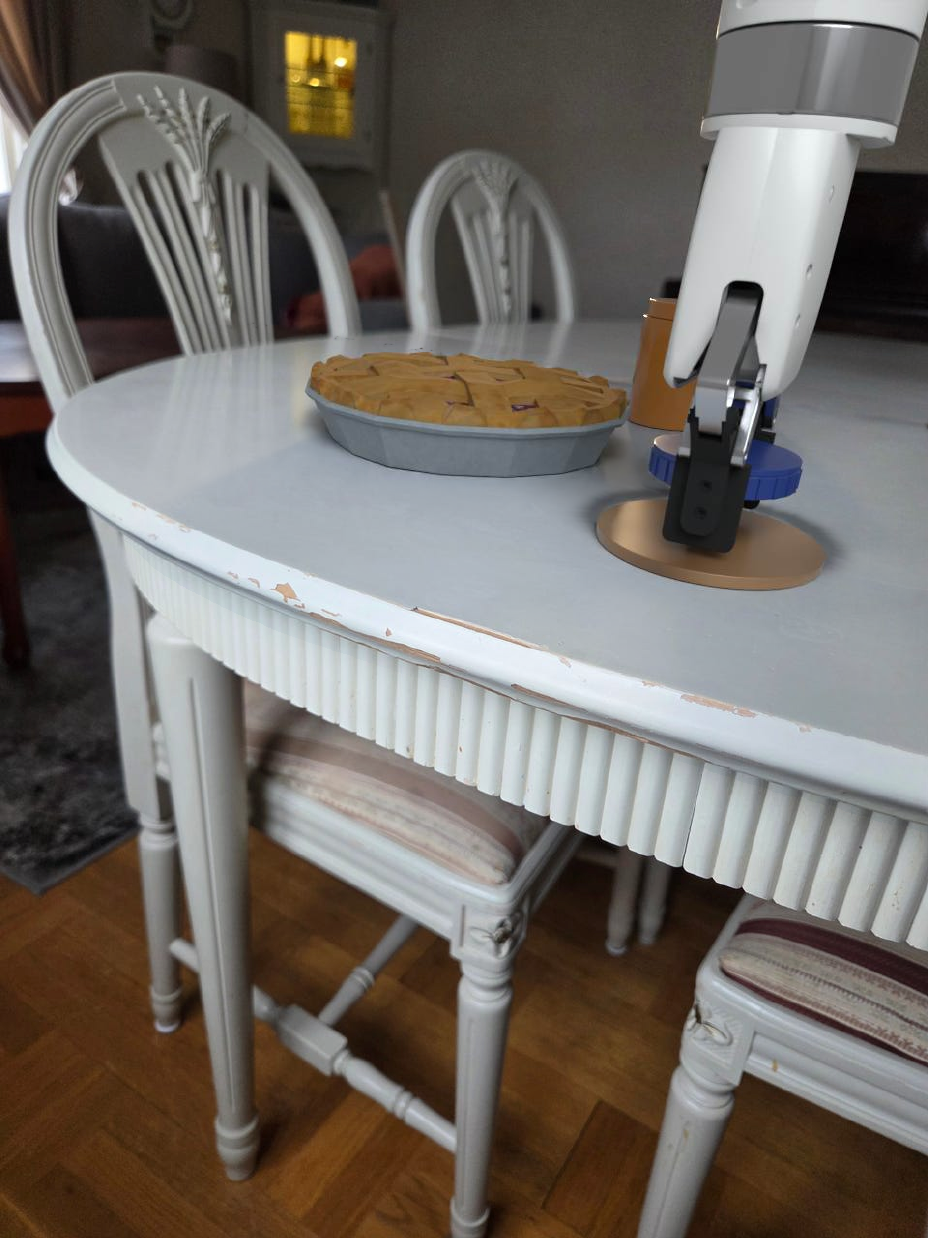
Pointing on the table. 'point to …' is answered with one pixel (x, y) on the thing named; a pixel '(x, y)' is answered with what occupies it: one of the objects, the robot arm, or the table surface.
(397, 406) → the pie
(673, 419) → the jar
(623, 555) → the coaster
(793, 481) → the lid
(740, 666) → the table surface
